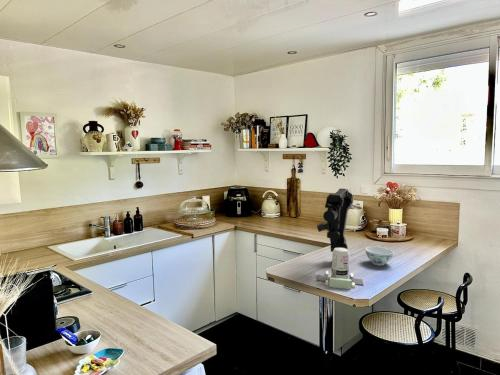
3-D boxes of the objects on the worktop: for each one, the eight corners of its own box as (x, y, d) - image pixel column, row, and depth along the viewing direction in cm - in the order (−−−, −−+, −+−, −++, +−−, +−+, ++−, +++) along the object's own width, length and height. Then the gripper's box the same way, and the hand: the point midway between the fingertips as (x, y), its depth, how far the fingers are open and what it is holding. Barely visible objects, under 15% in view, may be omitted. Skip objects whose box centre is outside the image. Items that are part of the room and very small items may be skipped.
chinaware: (359, 262, 211) (360, 249, 210) (373, 257, 221) (374, 245, 220) (383, 270, 200) (384, 256, 199) (397, 264, 209) (398, 251, 208)
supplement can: (335, 274, 192) (337, 246, 190) (350, 278, 187) (352, 249, 185) (328, 278, 186) (329, 249, 184) (343, 282, 181) (345, 253, 179)
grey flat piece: (317, 272, 195) (318, 264, 194) (361, 276, 190) (361, 268, 190) (316, 285, 177) (316, 277, 176) (364, 290, 172) (365, 282, 172)
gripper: (318, 213, 204) (317, 241, 206) (317, 221, 185) (316, 251, 188) (339, 215, 201) (337, 243, 203) (340, 222, 183) (338, 253, 185)
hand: (332, 247), depth 195 cm, fingers closed
